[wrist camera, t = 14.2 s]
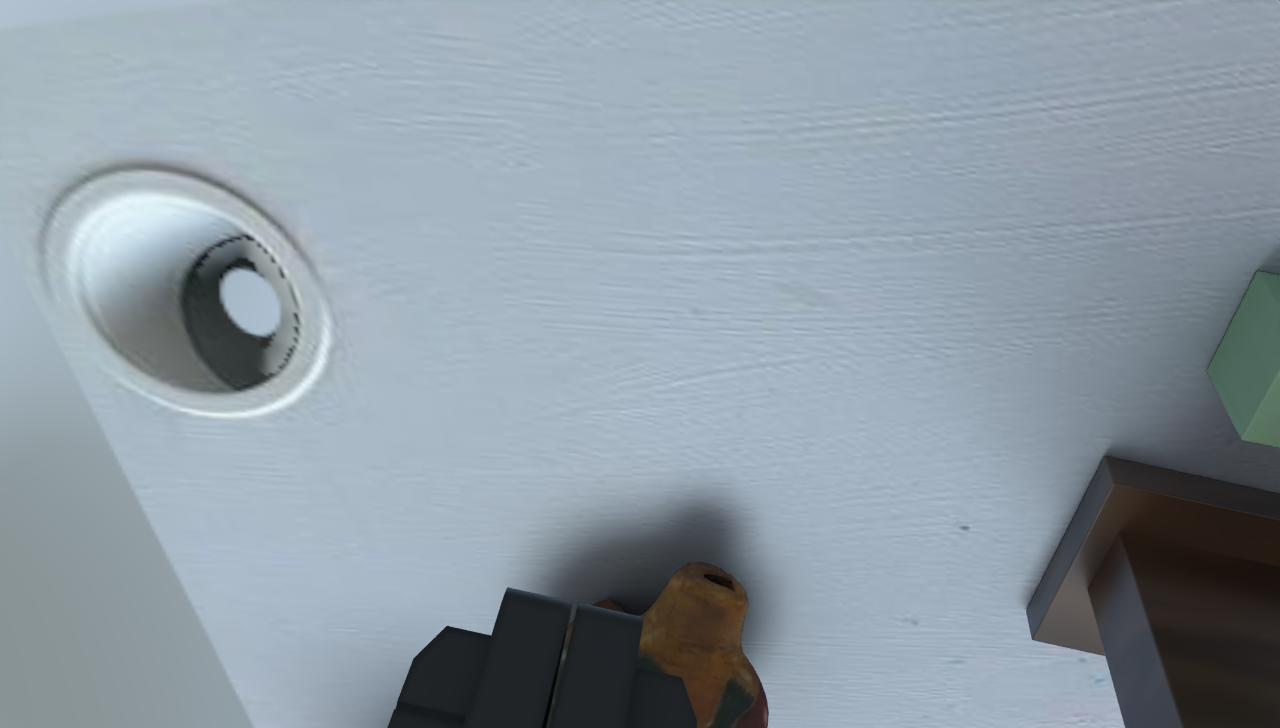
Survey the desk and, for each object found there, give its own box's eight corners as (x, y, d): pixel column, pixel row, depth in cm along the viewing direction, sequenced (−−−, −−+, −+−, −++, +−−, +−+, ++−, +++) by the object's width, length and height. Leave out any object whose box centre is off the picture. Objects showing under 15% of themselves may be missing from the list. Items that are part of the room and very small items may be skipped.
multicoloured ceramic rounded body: (505, 730, 55) (455, 875, 48) (597, 476, 47) (554, 604, 40) (703, 799, 55) (682, 955, 48) (826, 556, 48) (822, 699, 41)
